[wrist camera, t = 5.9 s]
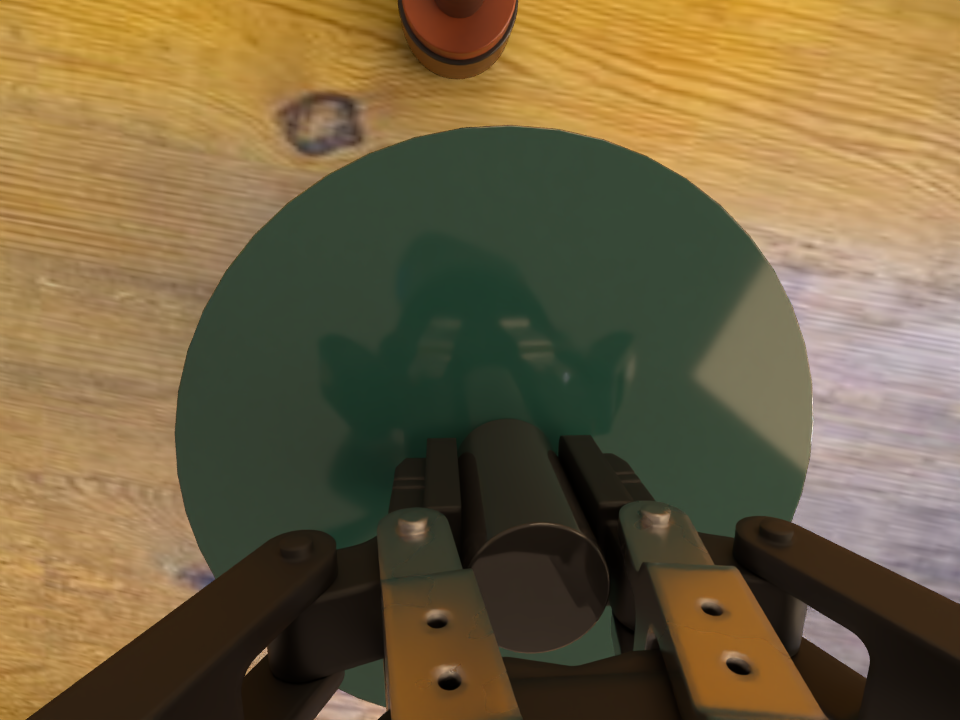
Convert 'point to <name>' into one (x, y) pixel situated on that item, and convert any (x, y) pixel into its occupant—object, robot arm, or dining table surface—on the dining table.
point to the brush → (457, 33)
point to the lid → (494, 366)
